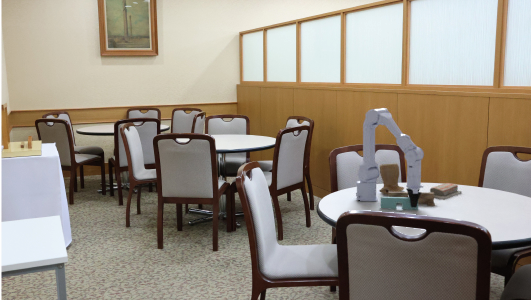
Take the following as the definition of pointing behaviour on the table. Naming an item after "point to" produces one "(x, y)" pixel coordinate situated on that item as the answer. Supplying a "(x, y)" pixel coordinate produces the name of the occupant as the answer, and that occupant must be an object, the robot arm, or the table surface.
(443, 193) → the packaged product
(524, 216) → the table surface
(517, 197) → the table surface
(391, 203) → the slotted panel
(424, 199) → the notched board
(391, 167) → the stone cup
